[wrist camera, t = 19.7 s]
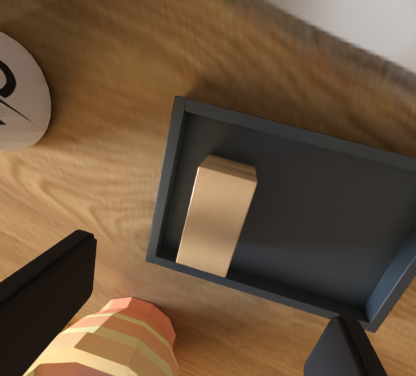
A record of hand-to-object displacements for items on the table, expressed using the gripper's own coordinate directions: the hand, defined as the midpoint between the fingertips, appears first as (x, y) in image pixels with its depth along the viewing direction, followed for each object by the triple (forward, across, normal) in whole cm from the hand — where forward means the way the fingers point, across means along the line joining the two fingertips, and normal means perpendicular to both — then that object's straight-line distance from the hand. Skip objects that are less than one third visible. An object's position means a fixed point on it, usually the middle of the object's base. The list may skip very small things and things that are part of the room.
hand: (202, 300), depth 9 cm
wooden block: (+10, +1, 0) cm, 10 cm away
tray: (+11, -4, 0) cm, 12 cm away
